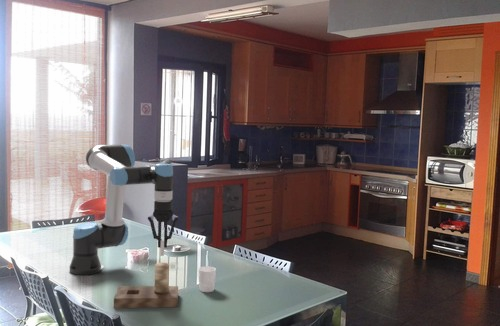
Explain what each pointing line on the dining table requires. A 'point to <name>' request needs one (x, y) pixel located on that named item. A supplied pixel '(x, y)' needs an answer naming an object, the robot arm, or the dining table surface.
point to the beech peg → (161, 278)
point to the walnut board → (145, 297)
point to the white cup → (207, 278)
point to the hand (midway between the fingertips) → (162, 254)
